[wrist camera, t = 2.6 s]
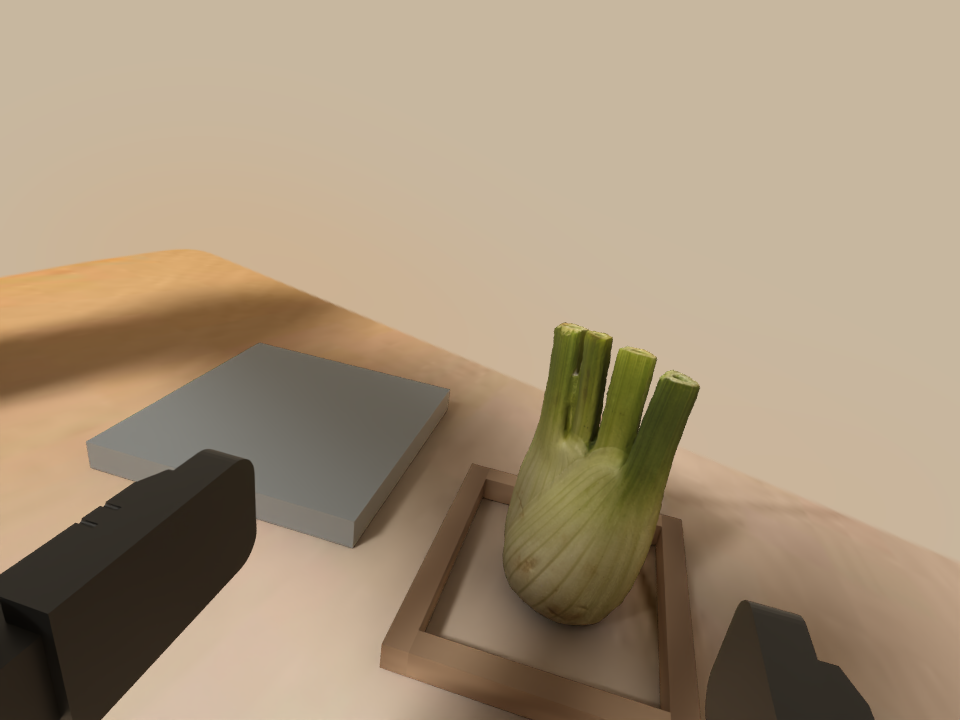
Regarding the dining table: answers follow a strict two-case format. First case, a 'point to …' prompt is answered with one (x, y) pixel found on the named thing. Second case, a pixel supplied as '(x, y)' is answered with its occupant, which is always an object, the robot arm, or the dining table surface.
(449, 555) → the walnut collar
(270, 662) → the dining table surface
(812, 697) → the robot arm
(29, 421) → the dining table surface
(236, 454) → the slate board
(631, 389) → the fennel bulb
